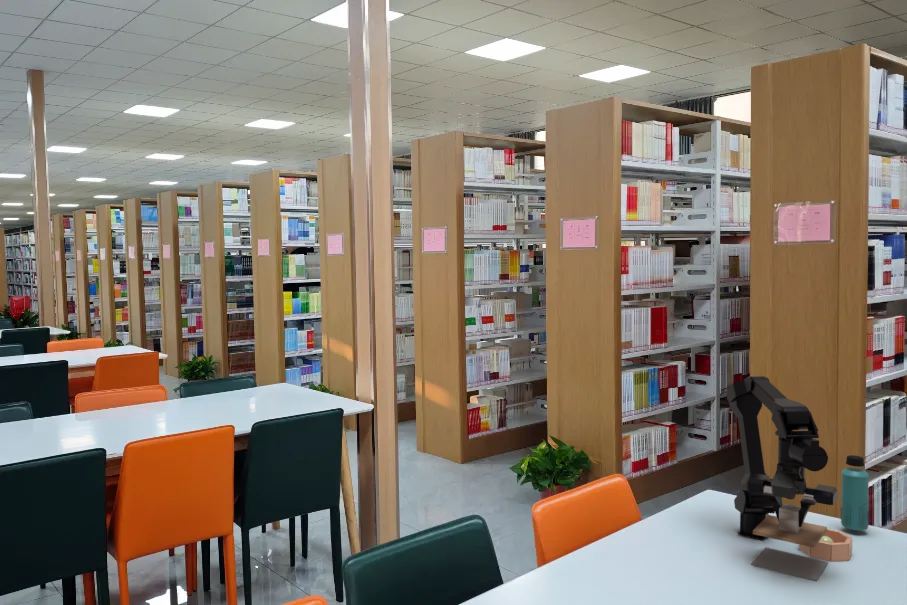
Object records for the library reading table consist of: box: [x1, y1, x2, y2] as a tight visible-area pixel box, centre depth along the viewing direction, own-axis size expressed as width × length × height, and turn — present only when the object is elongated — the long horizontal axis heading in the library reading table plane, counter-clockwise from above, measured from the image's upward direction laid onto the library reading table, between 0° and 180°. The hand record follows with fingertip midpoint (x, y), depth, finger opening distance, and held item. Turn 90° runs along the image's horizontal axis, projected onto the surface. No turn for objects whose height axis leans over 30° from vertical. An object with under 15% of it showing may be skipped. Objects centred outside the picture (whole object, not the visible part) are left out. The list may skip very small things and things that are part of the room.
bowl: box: [798, 528, 853, 562], centre depth 173 cm, size 11×11×4 cm
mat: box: [750, 547, 829, 582], centre depth 166 cm, size 14×12×1 cm
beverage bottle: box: [840, 454, 870, 531], centre depth 185 cm, size 6×7×20 cm
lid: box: [753, 503, 828, 548], centre depth 165 cm, size 13×13×6 cm
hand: (790, 524), depth 165 cm, fingers closed on lid, 4 cm apart
